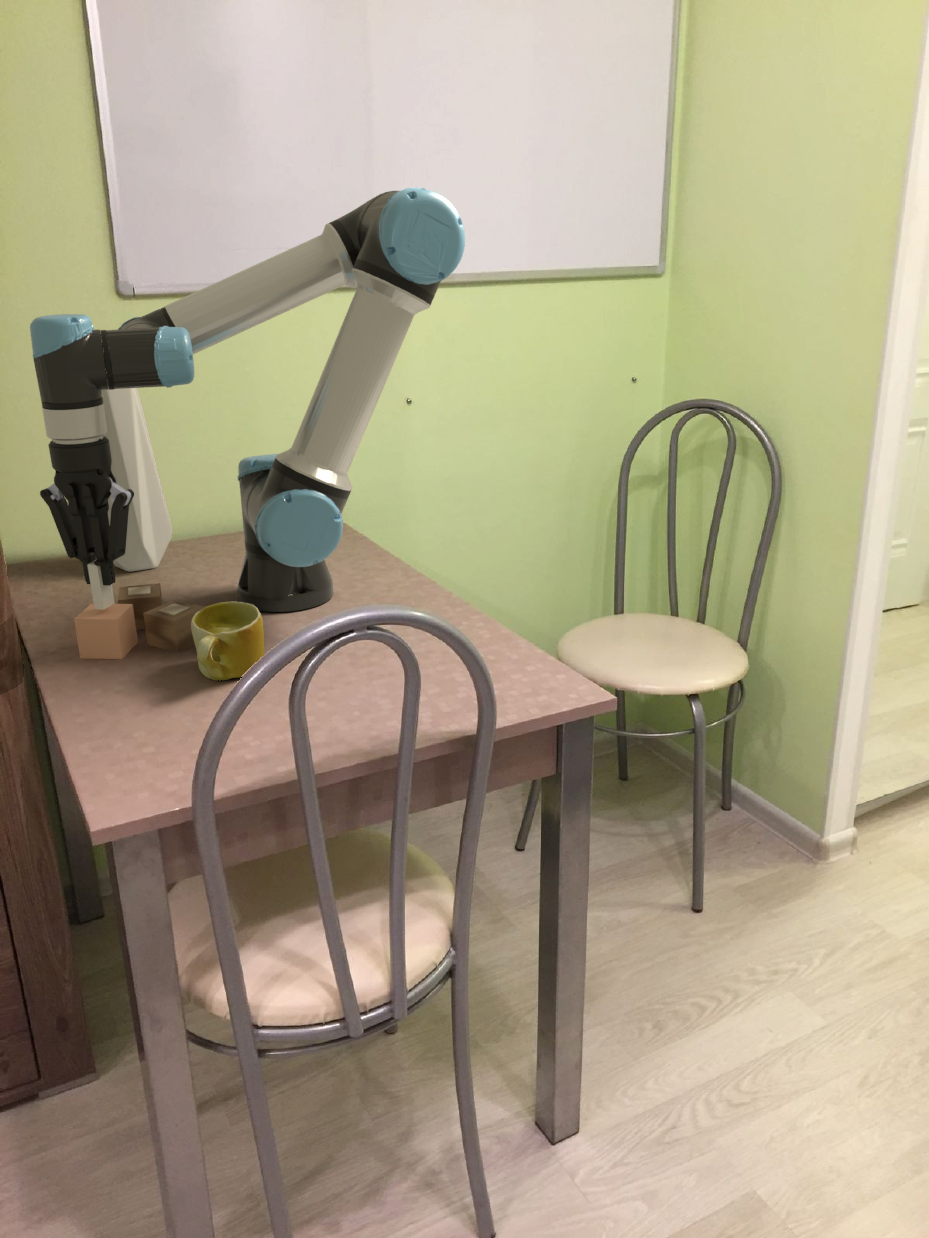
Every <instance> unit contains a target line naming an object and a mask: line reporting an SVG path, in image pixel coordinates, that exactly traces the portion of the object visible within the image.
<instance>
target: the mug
mask: <svg viewBox="0 0 929 1238" xmlns="http://www.w3.org/2000/svg"><path fill="white" fill-rule="evenodd" d="M204 607H205V608H203V609H201V610H200V611H198V612H197V613H196V614H195V615H194V616H193V618H192V620H191V630H192V635H193V639H194V643H195V645H194V646H195V649H196V659H197V663H198V669H199V672H201V674H202V675H203V676H204V677H205V678H207V679H209V680H211V679H212V681H218V680H219V682H221V680H222V681H227V680H230V679H234V678H235V679H239V678H241V676H242V675H243V674H244V673H245V672H246V671H247V670H248V669H249V668H250V667H251V666H252V665H253V664H254V663H255V662H257V661H258V660H259V659H260V657H262V656H263V655H264V656H265V631H264V619H263V616H262V613H261V612H260V611H259V610H258V608H257V607H255V606H254V605H253V604H249V603H244V602H240V601H236V600H234V601H232V600H231V601H230V600H229V601H222V602H221V601H220V602H216V603H213V604H210V605H207V606H204Z"/></svg>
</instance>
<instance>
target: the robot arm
mask: <svg viewBox="0 0 929 1238" xmlns="http://www.w3.org/2000/svg"><path fill="white" fill-rule="evenodd" d="M464 227H465V226H464V224H463V220H462V218H461V216H460V213H459V212H458V210H457V208H456V207H455V206H454V204H452V202H451V201H450V200H449V199H448V198H446V197H445V196H443V195H441V194H440V193H438V192H436V191H433V190H430V189H426V188H425V187H417V186H416V187H405V188H404V189H401V190H390V191H389V190H388V191H385V192H382V193H379V194H378V195H376V196H373V197H372V198H371V199H369V200H367V201H366V202H364V203H363V204H361V205H360V206H358V207H357V208H355V209H353V210H352V211H349V212H348V213H346V214H344V215H343V216H340V217H338V218H337V219H334V220H332V221H330V222H328V223H326V224H325V225H324V228H323V231H322V233H321V234H320V235H318V236H316V237H312V238H311V239H309V240H306V241H305V242H302V243H300V244H298V245H296V246H293V247H292V248H289V249H287V250H285V251H283V252H281V253H279V254H276V255H274V256H271V257H270V258H267V259H265V260H263V261H261V262H259V263H257V264H254V265H252V266H250V267H248V268H245V269H243V270H241V271H239V272H236V273H234V274H232V275H230V276H227V277H225V278H223V279H221V280H219V281H217V282H215V283H212V284H210V285H207V286H206V287H204V288H202V289H199V290H197V291H195V292H193V293H190V294H188V295H186V296H184V297H182V298H180V299H177V300H175V301H173V302H170V303H169V304H166V305H165V306H163V307H162V308H158V309H156V310H154V311H151V312H149V313H147V314H145V315H142V316H135V317H132V318H129V319H128V320H127V321H124V322H123V323H122V324H121V325H120V327H118V328H117V329H110V330H109V329H108V330H107V329H95V326H94V325H93V324H92V323H93V322H92V319H91V317H90V316H89V315H86V314H81V313H77V314H49V315H48V314H47V315H41V316H37V317H36V318H34V319H33V320H32V321H31V323H30V325H29V330H30V339H31V341H30V342H31V348H32V358H33V364H34V369H35V375H36V380H37V385H38V390H39V396H40V400H41V406H42V407H41V409H42V417H43V422H44V428H45V435H46V437H47V438H49V439H50V442H49V443H48V450H49V456H50V462H51V467H52V469H53V470H54V471H55V473H54V477H53V484H51V485H50V486H49V487H46V488H44V489H41V490H40V492H39V495H40V497H41V499H43V501H44V502H45V503H46V505H47V507H48V509H49V511H50V513H51V515H52V519H53V522H54V524H55V526H56V529H57V532H58V534H59V537H60V540H61V542H62V544H63V546H64V550H65V552H66V555H67V557H69V558H70V559H77V560H78V561H80V563H82V568H83V573H84V581H85V582H86V584H87V585H90V589H91V597H92V602H93V603H94V609H101V610H104V609H106V608H108V607H109V606H111V605H112V604H116V603H115V597H114V596H115V595H114V591H113V584H114V583H116V571H115V567H114V566H115V565H114V564H113V561H114V560H116V559H117V558H119V557H121V556H123V555H124V554H125V549H126V537H127V525H128V513H129V505H130V503H131V501H132V499H133V497H134V492H133V491H132V490H131V489H128V490H125V489H123V488H122V487H120V486H119V485H117V484H116V479H115V477H114V475H113V473H112V471H111V464H112V458H111V451H110V444H109V439H107V437H105V436H103V435H104V434H106V433H107V425H106V418H105V411H104V405H103V397H102V390H108V387H109V390H114V389H123V388H138V389H140V388H163V387H166V388H167V389H168V388H171V387H175V386H183V385H189V384H191V383H193V381H194V380H195V362H194V361H195V360H194V355H195V354H198V353H199V352H201V351H204V350H206V349H208V348H210V347H212V346H215V345H217V344H219V343H221V342H223V341H225V340H228V339H230V338H232V337H235V336H237V335H239V334H241V333H244V332H245V331H247V330H250V329H252V328H254V327H256V326H258V325H261V324H263V323H265V322H267V321H270V320H271V319H273V318H276V317H277V316H281V315H282V314H284V313H287V312H289V311H292V310H293V309H295V308H297V307H300V306H302V305H304V304H306V303H308V302H310V301H313V300H315V299H317V298H319V297H322V296H324V295H326V294H328V293H330V292H333V291H335V290H337V289H339V288H341V287H344V286H347V287H349V288H351V289H356V290H355V293H354V295H353V296H352V300H351V302H350V304H349V306H348V309H347V312H346V315H345V316H344V319H343V322H342V324H341V326H340V328H339V330H338V333H337V336H336V338H335V341H334V343H333V346H332V348H331V351H330V353H329V355H328V358H327V360H326V362H325V365H324V368H323V370H322V372H321V375H320V378H319V380H318V382H317V385H316V387H315V389H314V392H313V395H312V397H311V398H310V401H309V404H308V407H307V409H306V412H305V413H304V416H303V418H302V421H301V424H300V425H299V428H298V431H297V433H296V436H295V438H294V440H293V443H292V445H291V447H290V448H289V449H288V450H285V451H282V452H280V453H272V454H262V455H254V456H249V457H245V458H243V459H241V460H240V461H239V462H238V468H237V469H238V475H237V481H239V489H240V490H239V491H240V493H239V494H240V503H241V514H242V515H241V516H242V527H243V536H244V537H243V538H244V548H245V555H244V559H243V564H242V567H241V571H240V575H239V579H238V584H237V593H238V594H237V597H238V602H244V603H249V604H253V605H254V606H255V607H257V608H258V610H259V612H260V611H261V612H267V613H270V612H272V613H278V612H279V613H286V612H287V613H288V612H297V611H303V610H307V609H311V608H315V607H318V606H320V605H322V604H324V603H327V602H328V601H329V600H330V599H332V598H333V595H334V584H333V583H334V581H333V578H332V575H331V573H330V570H329V567H328V565H327V564H326V559H327V558H328V557H330V555H332V554H333V552H335V550H336V549H337V548H338V546H339V544H340V542H341V540H342V539H341V538H342V536H343V531H344V530H343V529H344V527H343V526H344V520H343V515H342V513H343V511H344V509H345V506H346V505H347V501H348V500H349V497H350V494H351V493H352V490H353V485H352V483H351V480H350V477H349V474H348V472H349V471H350V470H349V469H350V468H351V466H352V463H353V460H354V458H355V456H356V454H357V451H358V448H359V446H360V444H361V442H362V440H363V438H364V435H365V432H366V430H367V428H368V425H369V423H370V420H371V418H372V415H373V413H374V411H375V408H376V406H377V404H378V401H379V399H380V397H381V394H382V393H383V389H384V388H385V385H386V383H387V380H388V378H389V376H390V373H391V371H392V368H393V366H394V364H395V361H396V359H397V358H398V355H399V352H400V350H401V348H402V345H403V342H405V341H404V340H405V338H406V336H407V334H408V332H409V329H410V327H411V324H412V323H413V319H414V317H415V315H416V314H419V313H420V312H423V311H425V310H428V309H430V307H431V305H432V303H433V301H434V298H435V296H436V293H437V291H438V289H439V287H440V284H441V282H443V281H444V280H445V279H447V278H448V277H449V276H451V274H452V273H453V272H454V271H455V270H456V269H457V268H458V266H459V265H460V262H461V260H462V259H463V255H464V251H465V247H466V232H465V228H464ZM107 381H108V382H107ZM111 494H112V499H111V502H113V505H112V508H111V518H110V525H109V518H108V510H109V504H108V499H109V497H110V495H111Z"/></svg>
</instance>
